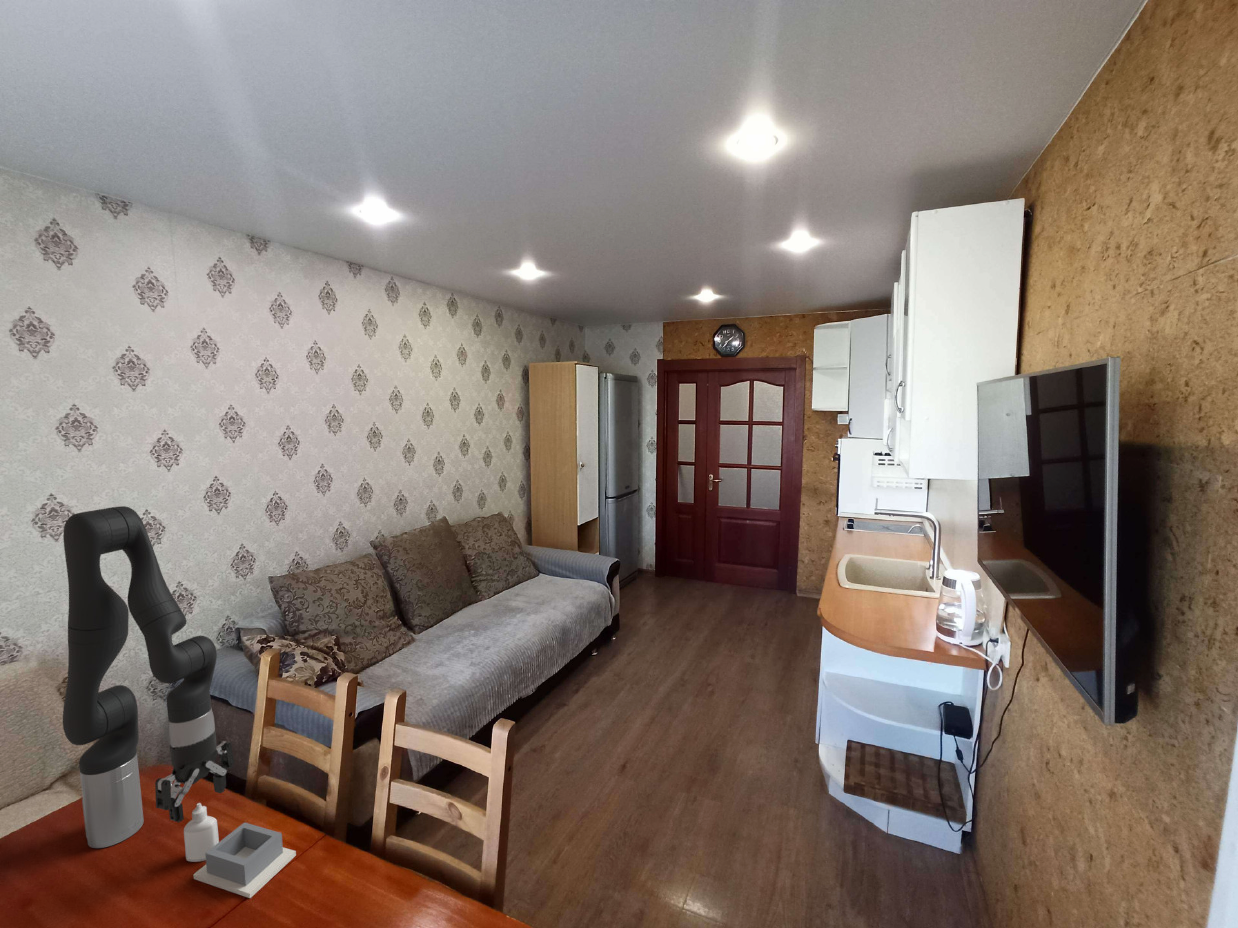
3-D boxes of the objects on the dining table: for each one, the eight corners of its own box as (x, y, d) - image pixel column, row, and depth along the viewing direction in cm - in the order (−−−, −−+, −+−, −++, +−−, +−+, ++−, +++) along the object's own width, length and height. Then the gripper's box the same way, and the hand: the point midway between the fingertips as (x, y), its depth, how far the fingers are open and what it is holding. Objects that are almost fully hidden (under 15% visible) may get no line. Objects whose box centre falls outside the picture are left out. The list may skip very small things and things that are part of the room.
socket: (193, 878, 109) (191, 854, 108) (242, 838, 119) (241, 816, 118) (250, 898, 105) (248, 872, 104) (295, 855, 115) (294, 831, 114)
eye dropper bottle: (201, 867, 112) (197, 814, 110) (183, 859, 113) (178, 807, 112) (222, 850, 116) (218, 799, 114) (204, 843, 117) (200, 793, 116)
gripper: (213, 712, 119) (219, 779, 121) (141, 751, 106) (149, 827, 107) (238, 717, 117) (245, 786, 119) (168, 758, 104) (176, 835, 105)
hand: (199, 805), depth 113 cm, fingers open, 8 cm apart
